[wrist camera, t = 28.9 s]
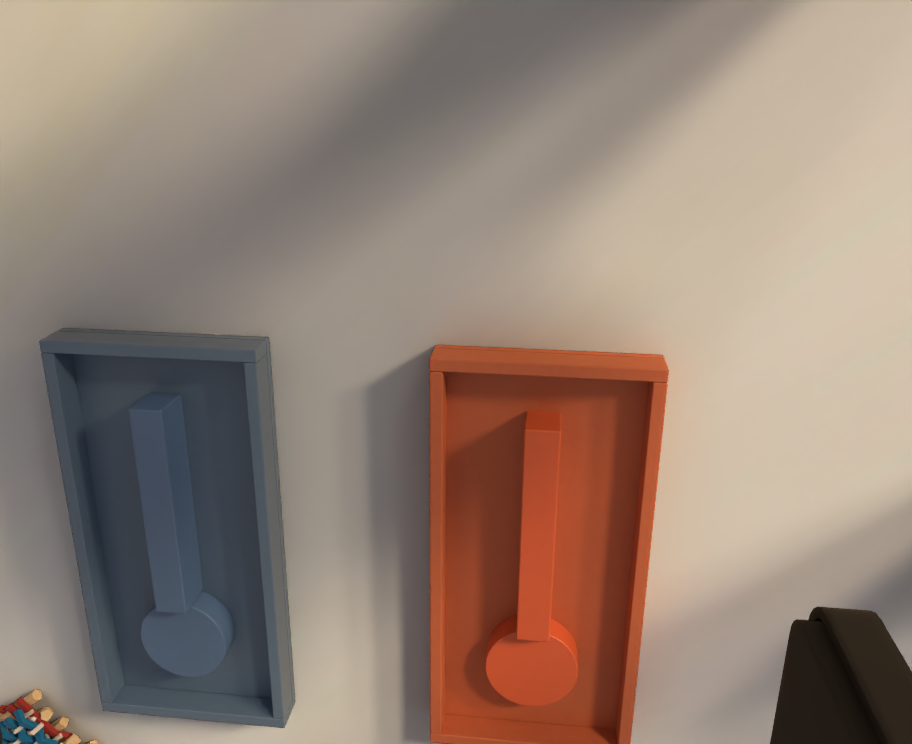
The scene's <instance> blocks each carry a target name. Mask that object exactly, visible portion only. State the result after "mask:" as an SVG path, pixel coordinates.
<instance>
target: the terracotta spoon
mask: <svg viewBox="0 0 912 744" xmlns="http://www.w3.org/2000/svg"><path fill="white" fill-rule="evenodd" d="M560 446H561V413H559V412H540V411H526V416H525V426H524V446H523V472H522V498H521V523H520V549H519V575H518V601H517V616H514V617H511V618H509V619H507V620H505V621H503V622H502V623H501V624H499V625H498V626H497V627H496V628H495V629H494V631H493V632H492V634H491V636H490V638H489V641H488V645H487V653H486V662H485V670H486V675H487V677H488V680H489V682H490V684H491V685H492V687H493V688H494V689H495V690H496V691H497V692H498V693H499V694H500V695H501V696H503V697H504V698H506V699H507V700H509V701H511V702H514V703H516V704H520V705H524V706H534V707H537V706H545V705H549V704H553V703H555V702H557V701H559V700H561V699H563V698H564V697H565V696H566V695H567V694H568V693H569V692H570V691H571V690H572V689H573V687H574V685H575V683H576V681H577V678H578V650H577V645H576V642H575V640H574V638H573V636H572V635H571V633H570V632H569V631H568V630H567V629H566V628H565V627H564V626H563V625H562V624H560V623H559V622H557V621H556V620H554V619H552V618H551V608H552V590H553V572H554V554H555V536H556V518H557V500H558V482H559V464H560Z"/></svg>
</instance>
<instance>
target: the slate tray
mask: <svg viewBox="0 0 912 744" xmlns="http://www.w3.org/2000/svg"><path fill="white" fill-rule="evenodd" d="M39 343H40V348H41V352H42V353H41V354H42V360H43V366H44V372H45V378H46V383H47V389H48V395H49V401H50V407H51V412H52V418H53V424H54V430H55V436H56V442H57V447H58V453H59V459H60V465H61V471H62V476H63V482H64V488H65V494H66V500H67V505H68V511H69V517H70V523H71V529H72V535H73V540H74V546H75V552H76V558H77V564H78V569H79V575H80V581H81V587H82V593H83V598H84V604H85V610H86V616H87V622H88V628H89V633H90V639H91V645H92V651H93V657H94V662H95V668H96V674H97V680H98V686H99V691H100V697H101V702H102V708H103V711H111V712H121V713H132V714H142V715H152V716H163V717H173V718H184V719H194V720H205V721H215V722H226V723H236V724H247V725H257V726H268V727H278V728H285V725H286V723H287V721H288V718H289V716H290V713H291V711H292V709H293V706H294V704H295V690H294V676H293V662H292V648H291V634H290V621H289V607H288V593H287V579H286V565H285V551H284V537H283V523H282V509H281V495H280V481H279V468H278V454H277V440H276V426H275V412H274V398H273V384H272V370H271V356H270V342H269V337H252V336H229V335H207V334H185V333H162V332H140V331H118V330H95V329H73V328H62V329H61V330H59V331H57V332H55V333H53V334H51V335H49V336H47V337H45V338H43V339H41V340H40V341H39ZM150 392H153V393H172V394H181V398H182V406H183V415H184V424H185V433H186V442H187V451H188V459H189V468H190V477H191V486H192V495H193V504H194V512H195V521H196V530H197V539H198V548H199V557H200V565H201V574H202V583H203V590H202V591H203V592H205V593H208V594H210V595H211V596H213V597H215V598H216V599H217V600H219V601H220V602H221V603H222V604H223V605H224V606H225V607H226V609H227V610H228V612H229V613H230V615H231V617H232V619H233V623H234V628H235V635H234V640H233V643H232V645H231V647H230V649H229V650H228V652H227V654H226V656H225V657H224V659H223V661H222V662H221V664H220V665H219V666H218V667H217V668H216V669H215V670H213V671H212V672H210V673H208V674H205V675H202V676H197V677H186V676H180V675H176V674H174V673H171V672H169V671H167V670H165V669H163V668H162V667H160V666H159V665H158V664H156V663H155V662H154V661H153V660H152V659H151V658H150V656H149V655H148V654H147V652H146V651H145V649H144V647H143V644H142V641H141V634H140V632H141V625H142V622H143V619H144V618H145V616H146V615H147V613H148V612H149V611H150V609H151V608H152V607H153V605H154V604H155V599H154V592H153V585H152V577H151V570H150V563H149V556H148V548H147V541H146V534H145V527H144V519H143V512H142V505H141V497H140V490H139V483H138V476H137V468H136V461H135V454H134V447H133V439H132V432H131V425H130V418H129V409H130V408H131V407H132V406H133V405H135V404H136V403H137V402H139V401H140V400H141V399H142V398H144V397H145V396H146V395H147V394H149V393H150Z"/></svg>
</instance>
